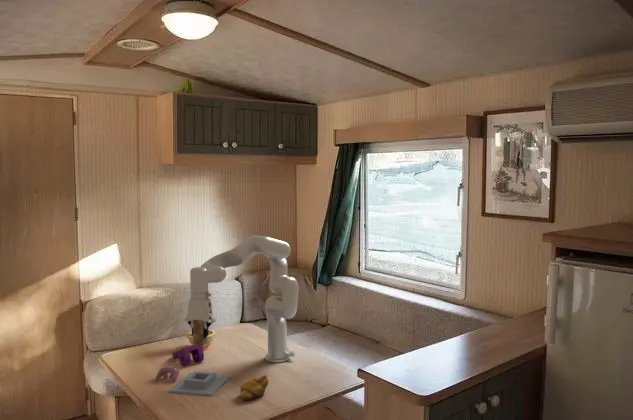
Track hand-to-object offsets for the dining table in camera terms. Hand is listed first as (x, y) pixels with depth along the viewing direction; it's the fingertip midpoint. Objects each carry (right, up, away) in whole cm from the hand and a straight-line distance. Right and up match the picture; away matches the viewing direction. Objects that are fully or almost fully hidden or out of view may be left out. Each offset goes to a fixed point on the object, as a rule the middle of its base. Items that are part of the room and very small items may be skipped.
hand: (200, 336), depth 225 cm
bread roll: (+24, -23, -11) cm, 35 cm away
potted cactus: (-11, -19, +50) cm, 55 cm away
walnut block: (0, -3, 0) cm, 3 cm away
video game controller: (-16, -22, +7) cm, 28 cm away
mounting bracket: (-14, -20, +31) cm, 40 cm away
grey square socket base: (0, -22, +1) cm, 22 cm away
